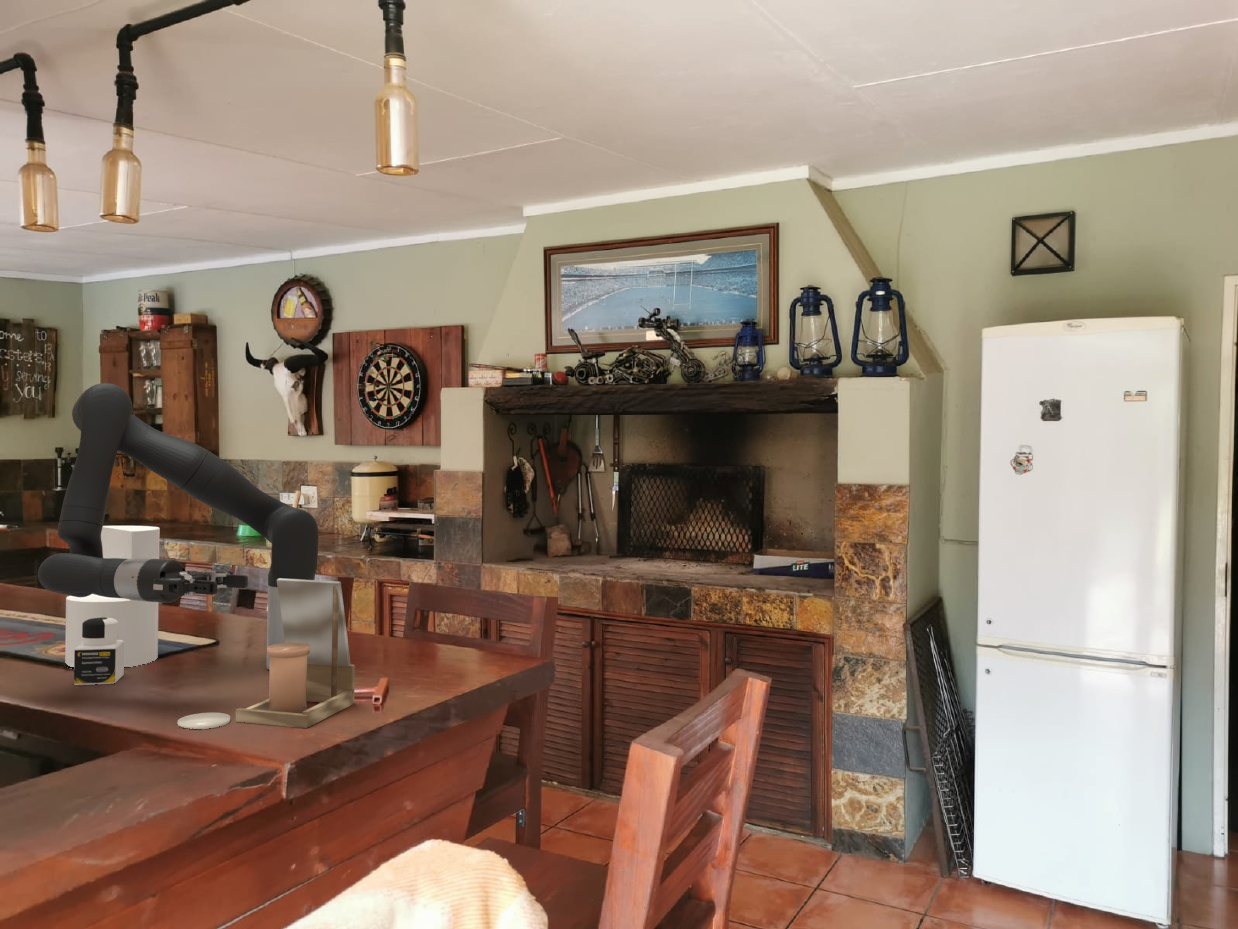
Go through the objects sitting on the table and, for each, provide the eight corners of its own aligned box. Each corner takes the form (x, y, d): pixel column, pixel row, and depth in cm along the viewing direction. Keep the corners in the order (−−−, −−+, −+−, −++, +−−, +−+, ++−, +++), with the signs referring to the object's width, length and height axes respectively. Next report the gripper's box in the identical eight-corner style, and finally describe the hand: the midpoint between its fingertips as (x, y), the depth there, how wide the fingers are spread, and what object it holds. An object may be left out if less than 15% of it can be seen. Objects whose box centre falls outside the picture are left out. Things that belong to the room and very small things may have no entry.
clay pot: (280, 710, 165) (282, 641, 165) (316, 713, 164) (317, 644, 163) (257, 720, 158) (259, 649, 158) (294, 724, 157) (295, 651, 157)
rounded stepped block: (136, 649, 212) (138, 524, 212) (172, 661, 201) (174, 529, 201) (51, 660, 199) (53, 527, 199) (84, 674, 188) (86, 533, 187)
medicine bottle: (73, 686, 179) (74, 622, 179) (83, 677, 186) (84, 616, 185) (115, 684, 181) (116, 621, 180) (124, 675, 187) (125, 615, 187)
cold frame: (289, 698, 173) (291, 575, 173) (354, 703, 170) (356, 578, 170) (235, 721, 157) (237, 586, 157) (306, 728, 155) (308, 590, 154)
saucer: (198, 714, 161) (198, 711, 161) (240, 718, 160) (240, 714, 160) (166, 727, 153) (166, 723, 153) (209, 731, 152) (209, 727, 152)
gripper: (121, 563, 160) (205, 567, 156) (177, 554, 174) (256, 559, 170) (120, 607, 160) (204, 613, 156) (177, 595, 174) (255, 600, 170)
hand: (231, 585), depth 163 cm, fingers open, 8 cm apart
